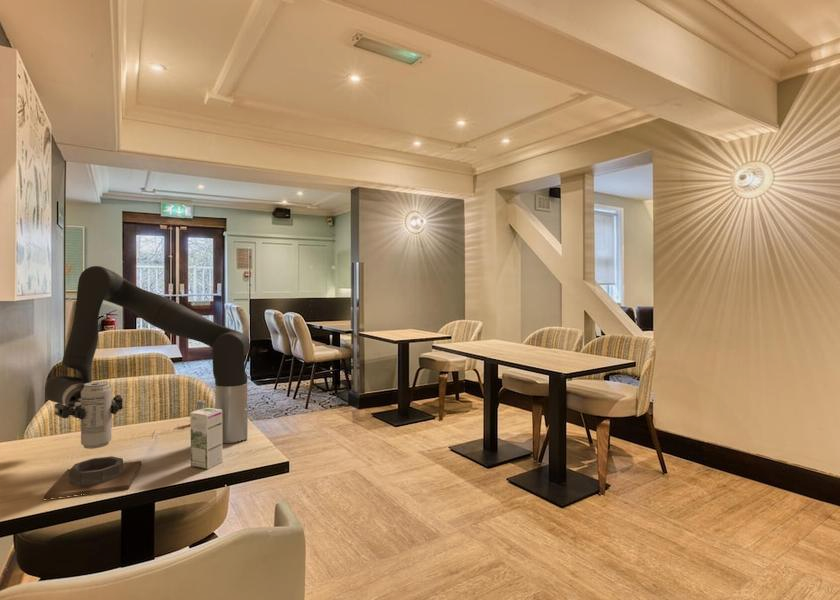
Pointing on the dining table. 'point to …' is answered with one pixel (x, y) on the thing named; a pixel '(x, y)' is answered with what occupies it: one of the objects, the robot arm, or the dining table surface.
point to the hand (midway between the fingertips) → (98, 412)
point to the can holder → (95, 477)
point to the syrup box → (206, 438)
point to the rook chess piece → (200, 404)
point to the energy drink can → (96, 415)
